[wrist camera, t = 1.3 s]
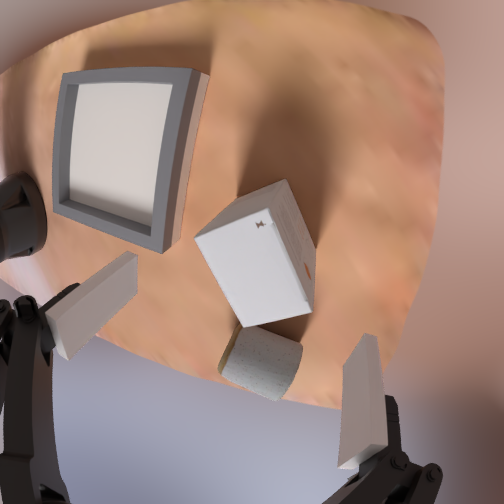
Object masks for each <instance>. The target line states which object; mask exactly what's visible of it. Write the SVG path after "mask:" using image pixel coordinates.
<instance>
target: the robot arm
mask: <svg viewBox="0 0 504 504" xmlns="http://www.w3.org/2000/svg"><path fill="white" fill-rule="evenodd" d="M46 235H47V223H46V215H45V210H44V206H43V202H42V199H41V196H40V193H39V191H38V189H37V187H36V185H35V183H34V181H33V180H32V179H31V177H30V176H29V175H28V174H26V173H24V172H17V173H14V174H11V175H9V176H7V177H6V178H5V179H4V180H3V181H1V182H0V263H1V262H2V261H4V260H6V259H12V258H18V257H24V256H30V255H33V254H34V253H36V252H38V251H39V250H41V249H42V248H43V246H44V244H45V241H46ZM137 264H138V255H136V254H134V253H131V252H129V251H126V252H125V253H124V254H122V255H121V256H119V257H118V258H116V259H115V260H114V261H112V262H111V263H109V264H108V265H107V266H105V267H104V268H102V269H101V270H100V271H98V272H97V273H96V274H94V275H93V276H91V277H90V278H89V279H87V280H86V281H85V282H83V283H82V284H79V283H75V284H72V285H69V286H68V287H66V288H65V289H64V290H62V292H60V293H58V294H57V296H55V297H53V298H52V299H51V300H49V301H48V302H47V303H46V304H44V305H43V306H42V307H41V308H39V309H38V306H37V303H36V300H35V298H34V297H32V296H29V295H25V296H21V297H19V298H18V299H16V300H15V301H14V303H13V306H14V309H15V310H13V309H12V308H11V305H10V303H9V301H7V300H5V299H2V300H0V340H1V338H2V340H1V342H0V414H1V411H2V407H3V403H4V422H3V424H4V425H3V432H4V433H3V435H4V451H3V453H1V454H0V489H1V495H2V501H3V504H71V503H70V500H69V496H68V492H67V488H66V486H65V483H64V482H63V480H62V478H61V475H60V471H59V465H58V459H57V452H56V444H55V434H54V422H53V402H52V369H53V368H52V367H53V350H52V349H53V348H54V347H55V346H56V348H57V351H58V353H59V354H60V355H61V356H63V357H64V358H65V359H67V360H68V361H70V360H71V358H72V357H73V356H74V355H75V354H76V353H77V352H78V351H79V350H80V349H81V348H82V347H83V346H84V345H85V344H86V343H87V342H88V341H89V340H90V339H91V338H92V337H93V336H94V335H95V334H96V333H97V332H98V331H99V330H100V329H101V328H102V327H103V326H104V325H105V324H106V323H107V322H108V321H109V320H110V319H111V318H112V317H113V316H114V315H115V314H116V313H117V312H118V311H119V310H120V309H121V308H122V307H123V306H124V305H126V304H127V303H128V302H129V301H130V300H131V299H132V298H133V297H134V296H135V295H136V294H137ZM357 466H359V472H358V473H357V474H355V475H353V476H351V477H350V478H348V480H349V481H348V482H347V483H346V484H344V485H343V486H342V487H341V488H340V489H339V490H338V491H337V492H335V493H334V494H333V495H332V496H331V497H329V498H328V499H327V500H326V501H325V502H323V503H322V504H434V502H435V499H436V496H437V494H438V491H439V488H440V485H441V482H442V478H443V473H442V470H441V468H440V467H439V466H438V465H437V464H434V463H430V464H428V465H426V466H424V467H422V466H419V465H417V464H414V463H411V462H410V461H409V458H408V456H407V455H406V453H405V452H403V451H402V449H401V436H400V424H399V416H398V405H397V403H396V401H395V399H394V397H393V396H388V395H385V394H384V385H383V376H382V368H381V361H380V354H379V347H378V341H377V336H374V335H370V334H367V333H364V335H363V336H362V338H361V339H360V341H359V343H358V344H357V346H356V347H355V349H354V350H353V352H352V353H351V355H350V356H349V358H348V359H347V361H346V362H345V364H344V365H343V392H342V418H341V433H340V446H339V456H338V466H337V468H342V469H354V468H356V467H357Z"/></svg>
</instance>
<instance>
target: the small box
mask: <svg viewBox="0 0 504 504" xmlns="http://www.w3.org/2000/svg"><path fill="white" fill-rule="evenodd" d="M194 240H195V242H196V244H197V246H198V247H199V249H200V251H201V253H202V255H203V257H204V259H205V261H206V262H207V264H208V266H209V268H210V270H211V271H212V273H213V275H214V277H215V279H216V280H217V282H218V284H219V286H220V288H221V289H222V291H223V293H224V295H225V296H226V298H227V300H228V302H229V304H230V305H231V307H232V309H233V310H234V312H235V314H236V316H237V318H238V319H239V321H240V323H241V324H242V326H243V327H249V326H255V325H259V324H264V323H268V322H273V321H277V320H282V319H286V318H290V317H294V316H298V315H303V314H307V313H311V312H312V311H313V304H314V289H315V267H316V249H315V246H314V244H313V241H312V239H311V236H310V234H309V231H308V229H307V227H306V224H305V222H304V219H303V217H302V214H301V212H300V210H299V207H298V205H297V203H296V200H295V198H294V196H293V193H292V191H291V189H290V186H289V184H288V181H287V179H283V180H281V181H278V182H276V183H273V184H271V185H268V186H266V187H263V188H261V189H258V190H256V191H253V192H251V193H249V194H246V195H244V196H241V197H239V198H237V199H235V200H234V201H233V202H232V203H231V204H229V205H228V206H227V207H226V208H225V209H224V210H223V211H222V212H220V213H219V214H218V215H217V216H216V217H215V218H214V219H213V220H212V221H211V222H210V223H208V224H207V225H206V226H205V227H204V228H203V229H202V230H201V231H200V232H199V233H198V234H197V235H196V236H195V237H194Z"/></svg>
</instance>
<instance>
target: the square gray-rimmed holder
mask: <svg viewBox="0 0 504 504" xmlns="http://www.w3.org/2000/svg"><path fill="white" fill-rule="evenodd" d="M209 77H210V76H209V75H206V74H204V73H202V72H200V71H197V70H195V69H193V68H178V67H119V68H104V69H93V70H84V71H76V72H69V73H63V75H62V80H61V85H60V91H59V97H58V104H57V111H56V120H55V129H54V142H53V162H52V197H53V212H55V213H57V214H60V215H62V216H64V217H67V218H69V219H72V220H74V221H77V222H79V223H82V224H84V225H87V226H89V227H92V228H94V229H97V230H99V231H102V232H105V233H107V234H110V235H112V236H115V237H118V238H120V239H123V240H125V241H128V242H131V243H133V244H136V245H139V246H141V247H144V248H147V249H149V250H152V251H155V252H158V253H160V254H163V253H164V252H165V251H166V250H168V249H169V248H170V247H171V246H172V245H174V244H175V243H176V242H177V241H178V240H180V232H181V225H182V217H183V210H184V203H185V197H186V190H187V184H188V178H189V172H190V166H191V161H192V155H193V150H194V145H195V139H196V134H197V129H198V125H199V120H200V115H201V111H202V106H203V102H204V97H205V93H206V89H207V85H208V81H209Z"/></svg>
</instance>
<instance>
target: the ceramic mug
mask: <svg viewBox="0 0 504 504" xmlns="http://www.w3.org/2000/svg"><path fill="white" fill-rule="evenodd" d="M302 352H303V346H302V344H300V343H298V342H295V341H292V340H290V339H287V338H285V337H282V336H280V335H277V334H274V333H272V332H269V331H267V330H264V329H262V328H260V327H257V326H249V327H243V326H242V324H239V325H238V326H237V327H236V329H235V331H234V333H233V335H232V337H231V339H230V341H229V343H228V345H227V347H226V349H225V351H224V353H223V356H222V358H221V360H220V362H219V365H218V368H217V369H218V372H219V373H220V374H221V375H222V376H223V377H225V378H226V379H228V380H229V381H231V382H233V383H235V384H238V385H240V386H242V387H244V388H247V389H249V390H251V391H253V392H255V393H257V394H259V395H261V396H264V397H266V398H268V399H271V400H273V401H278V400H279V399H281V398H282V397H283V395H284V394H285V393H286V391H287V390H288V388H289V387H290V385H291V384H292V382H293V380H294V377H295V374H296V372H297V370H298V368H299V364H300V361H301V357H302Z"/></svg>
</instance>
